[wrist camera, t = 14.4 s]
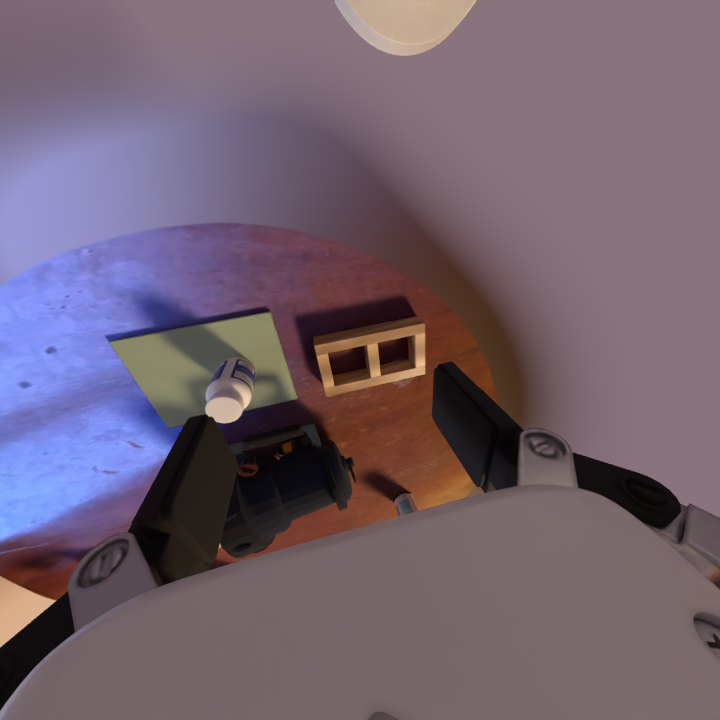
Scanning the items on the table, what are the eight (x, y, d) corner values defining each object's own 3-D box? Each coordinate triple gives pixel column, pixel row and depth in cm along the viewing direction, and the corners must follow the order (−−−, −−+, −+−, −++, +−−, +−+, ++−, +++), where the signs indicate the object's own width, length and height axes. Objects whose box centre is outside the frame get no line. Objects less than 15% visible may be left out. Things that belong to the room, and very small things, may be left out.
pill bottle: (224, 389, 39) (206, 431, 31) (212, 359, 36) (190, 396, 28) (261, 383, 39) (252, 423, 32) (252, 353, 37) (240, 388, 29)
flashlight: (253, 494, 51) (196, 425, 41) (351, 453, 54) (321, 378, 43) (247, 581, 39) (162, 514, 28) (375, 522, 41) (340, 441, 31)
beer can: (403, 506, 65) (423, 560, 54) (389, 501, 62) (408, 557, 52) (416, 494, 63) (439, 547, 53) (402, 489, 61) (424, 544, 51)
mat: (111, 340, 33) (108, 342, 32) (270, 310, 35) (269, 312, 35) (169, 426, 40) (168, 428, 40) (297, 396, 43) (297, 399, 42)
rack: (312, 336, 38) (314, 345, 36) (416, 315, 40) (425, 322, 37) (324, 385, 43) (326, 396, 40) (417, 364, 45) (425, 374, 42)
